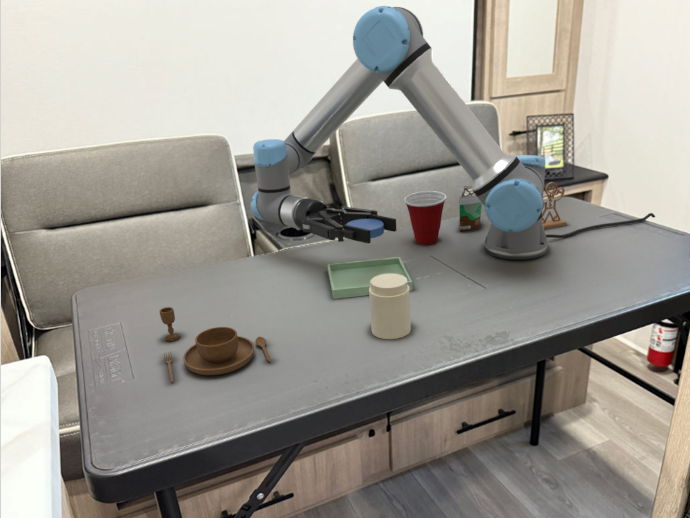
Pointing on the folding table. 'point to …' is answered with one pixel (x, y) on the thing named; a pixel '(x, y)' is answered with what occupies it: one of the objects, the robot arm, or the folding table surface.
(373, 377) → the folding table surface
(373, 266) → the tray
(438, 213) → the plastic cup
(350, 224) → the lid
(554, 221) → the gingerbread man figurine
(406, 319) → the jar
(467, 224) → the food container
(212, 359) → the place setting
